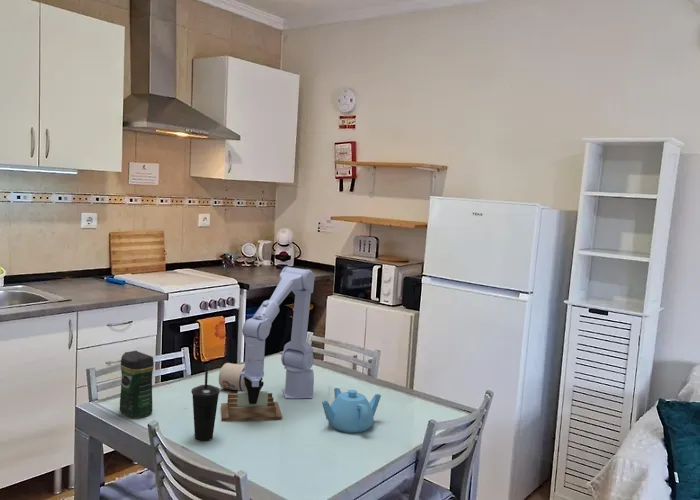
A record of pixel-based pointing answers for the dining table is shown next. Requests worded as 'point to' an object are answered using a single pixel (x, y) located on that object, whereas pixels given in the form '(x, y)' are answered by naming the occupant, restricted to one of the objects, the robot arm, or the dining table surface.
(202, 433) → the drinking cup
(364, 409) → the teapot
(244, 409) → the walnut rack
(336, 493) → the dining table surface
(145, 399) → the coffee jar
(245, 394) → the upright gray panel
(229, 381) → the beige mug
